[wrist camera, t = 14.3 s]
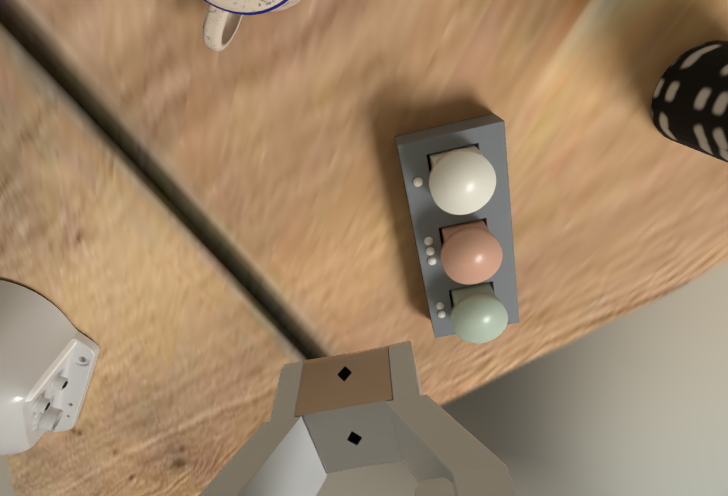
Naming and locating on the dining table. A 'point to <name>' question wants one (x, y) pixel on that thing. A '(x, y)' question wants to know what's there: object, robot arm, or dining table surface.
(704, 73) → the spotted tube
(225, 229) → the dining table surface
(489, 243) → the pink dome knob
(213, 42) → the teacup with lid
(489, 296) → the button two dots
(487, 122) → the button panel
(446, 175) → the button one dot
